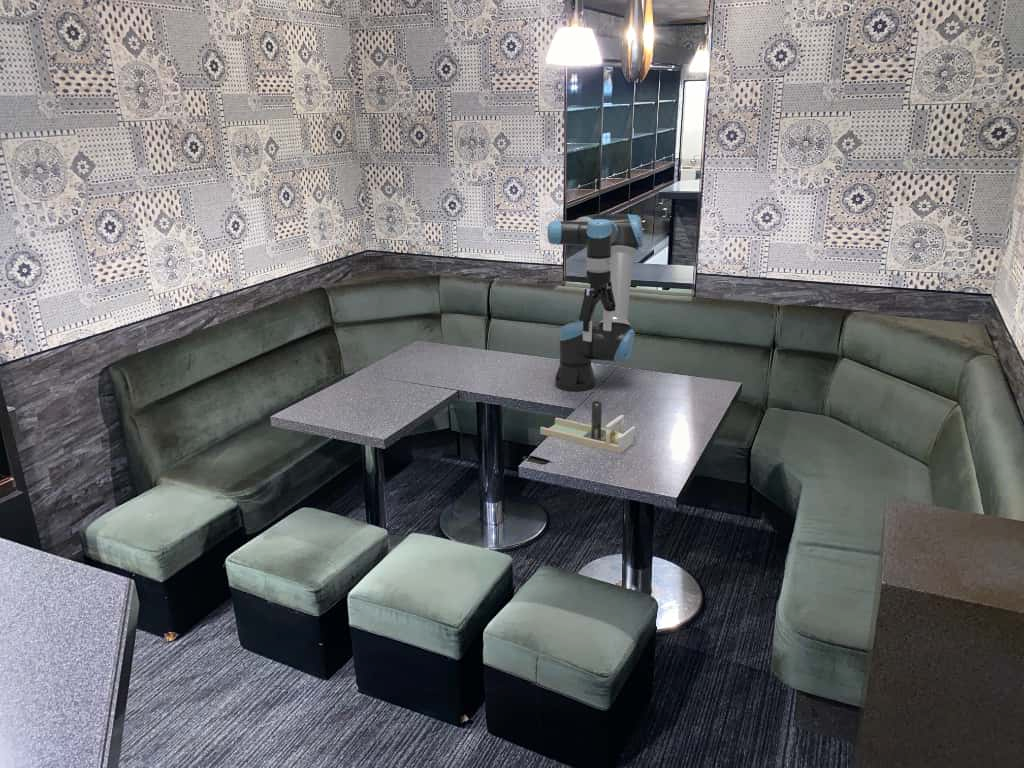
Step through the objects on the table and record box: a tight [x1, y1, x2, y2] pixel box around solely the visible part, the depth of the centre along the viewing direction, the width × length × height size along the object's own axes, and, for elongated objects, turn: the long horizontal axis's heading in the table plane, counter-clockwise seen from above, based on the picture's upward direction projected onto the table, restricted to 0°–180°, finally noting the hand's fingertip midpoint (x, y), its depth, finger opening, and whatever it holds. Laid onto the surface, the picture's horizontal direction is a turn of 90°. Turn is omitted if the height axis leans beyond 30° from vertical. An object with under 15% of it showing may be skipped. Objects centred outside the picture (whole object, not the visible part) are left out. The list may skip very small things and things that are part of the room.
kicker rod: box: [583, 400, 616, 443], centre depth 239 cm, size 8×7×12 cm
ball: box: [613, 433, 622, 445], centre depth 237 cm, size 4×4×4 cm
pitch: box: [539, 414, 636, 454], centre depth 242 cm, size 28×10×9 cm, turn 56°
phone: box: [522, 453, 551, 466], centre depth 236 cm, size 8×1×15 cm
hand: (597, 335), depth 251 cm, fingers open, 13 cm apart
